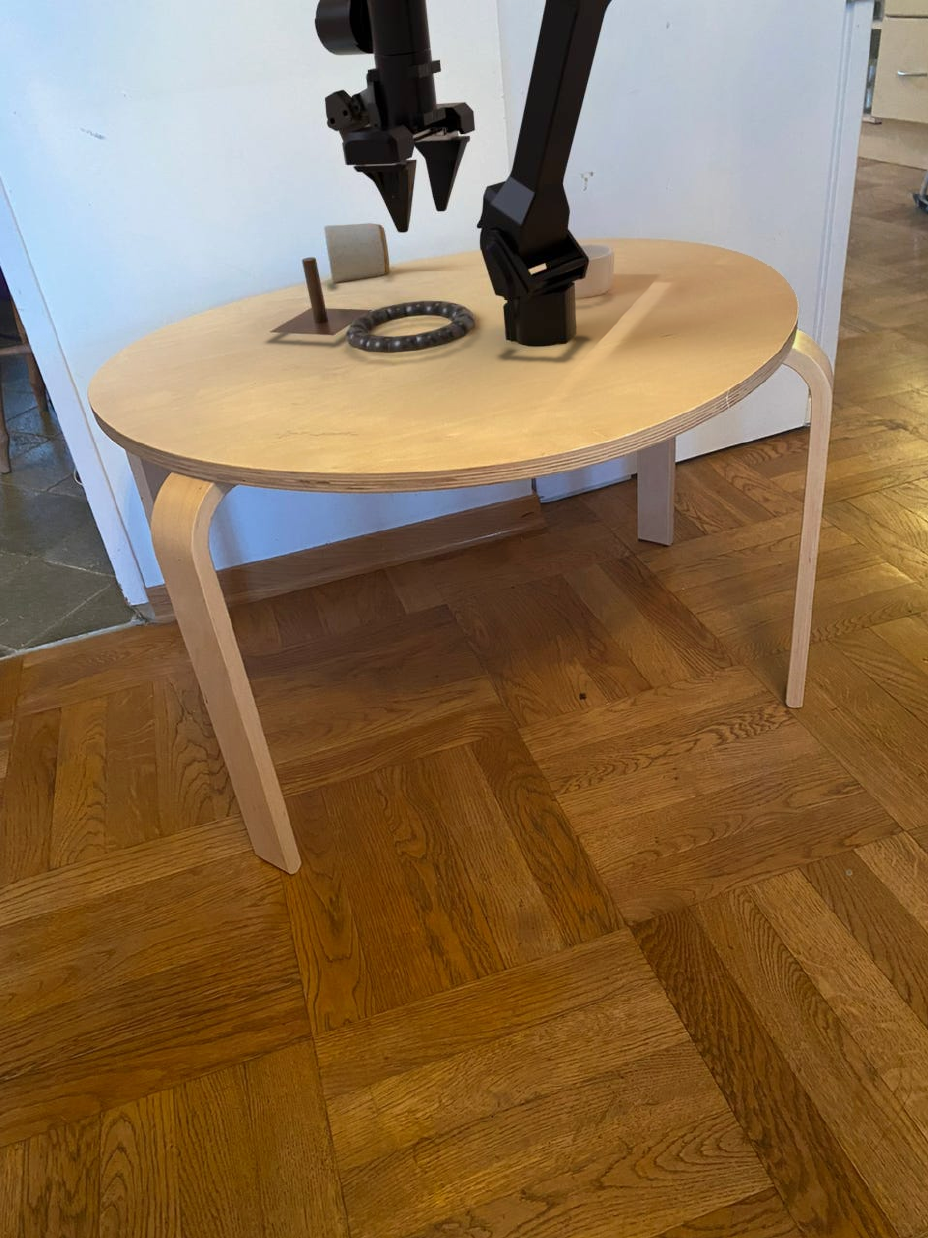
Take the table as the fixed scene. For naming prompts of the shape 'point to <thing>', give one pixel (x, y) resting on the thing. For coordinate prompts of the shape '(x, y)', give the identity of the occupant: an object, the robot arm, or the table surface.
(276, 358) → the table surface
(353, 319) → the peg stand
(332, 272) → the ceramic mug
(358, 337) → the ring
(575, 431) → the table surface
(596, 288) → the teacup
